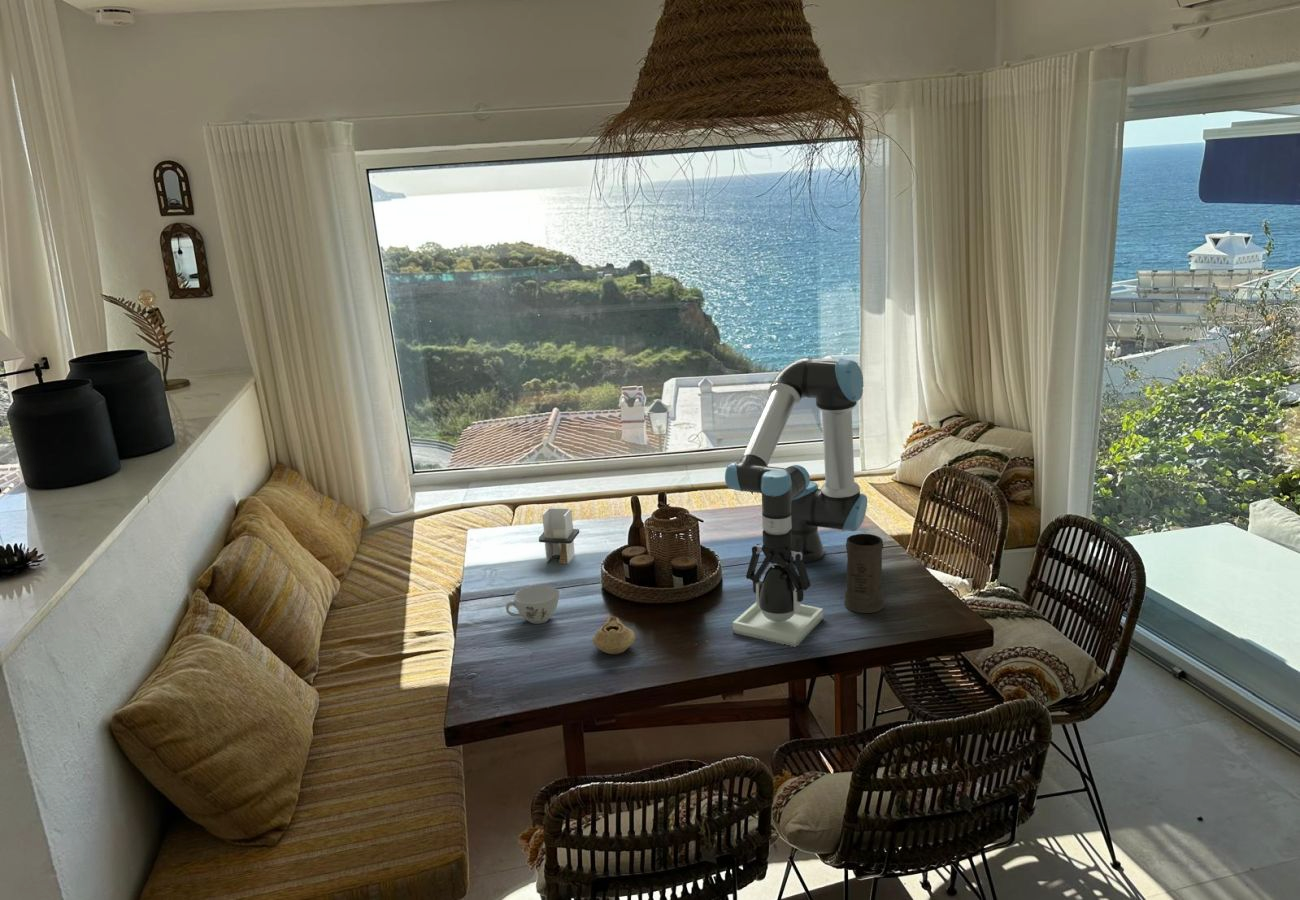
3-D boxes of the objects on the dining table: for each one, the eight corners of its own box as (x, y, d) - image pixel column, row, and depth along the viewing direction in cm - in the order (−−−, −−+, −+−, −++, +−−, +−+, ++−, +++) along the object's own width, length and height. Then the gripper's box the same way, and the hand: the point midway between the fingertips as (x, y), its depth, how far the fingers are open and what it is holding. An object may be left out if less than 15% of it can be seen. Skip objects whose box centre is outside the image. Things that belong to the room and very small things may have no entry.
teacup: (555, 606, 271) (553, 580, 269) (565, 624, 260) (563, 598, 257) (503, 616, 267) (501, 590, 265) (511, 634, 255) (508, 607, 253)
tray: (762, 605, 264) (762, 596, 264) (822, 618, 255) (822, 608, 254) (732, 632, 250) (732, 622, 249) (795, 647, 240) (795, 636, 240)
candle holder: (511, 573, 297) (506, 524, 292) (536, 544, 320) (531, 498, 315) (587, 576, 291) (583, 526, 287) (607, 546, 314) (604, 500, 310)
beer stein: (884, 615, 255) (885, 544, 250) (844, 613, 257) (844, 543, 253) (882, 595, 269) (883, 528, 265) (844, 593, 272) (844, 527, 267)
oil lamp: (627, 631, 254) (626, 604, 252) (641, 657, 240) (639, 628, 238) (587, 638, 251) (585, 610, 249) (598, 664, 237) (596, 635, 235)
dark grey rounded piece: (768, 629, 246) (767, 575, 241) (753, 612, 255) (752, 560, 251) (804, 622, 248) (803, 569, 244) (788, 606, 258) (787, 554, 254)
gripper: (731, 528, 248) (733, 605, 254) (812, 541, 236) (812, 622, 242) (744, 518, 254) (746, 594, 260) (823, 531, 242) (823, 610, 248)
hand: (778, 607), depth 251 cm, fingers closed on dark grey rounded piece, 10 cm apart
